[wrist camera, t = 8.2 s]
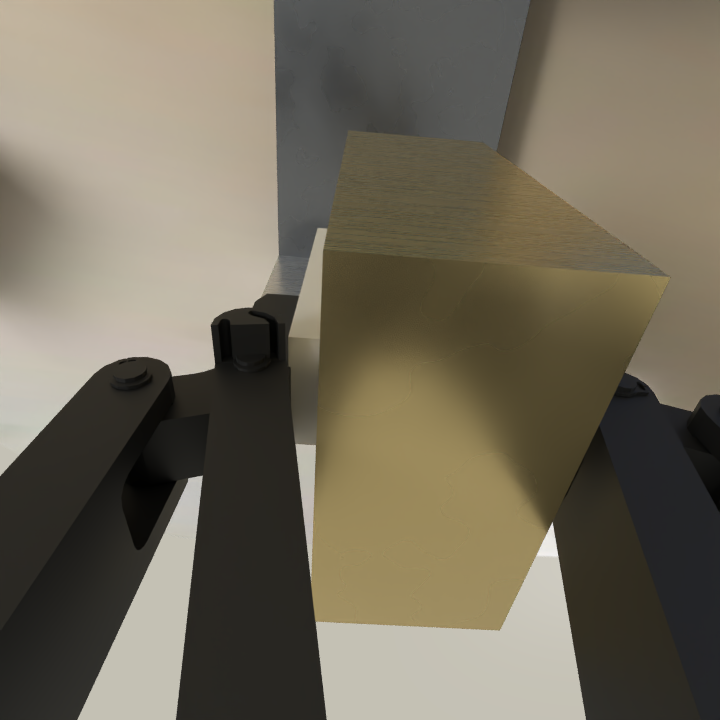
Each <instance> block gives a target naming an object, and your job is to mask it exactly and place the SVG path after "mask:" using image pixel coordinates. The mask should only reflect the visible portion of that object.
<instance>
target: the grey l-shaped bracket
mask: <svg viewBox="0 0 720 720" xmlns="http://www.w3.org/2000/svg"><path fill="white" fill-rule="evenodd" d="M529 5H530V0H274V32H275V82H276V132H277V182H278V232H279V256H278V259H277V261H276V264H275V266H274V268H273V271H272V273H271V276H270V278H269V280H268V283H267V285H266V288H265V290H264V292H263V295H262V297H263V296H264V295H266V294H267V293H268V294H282V295H295V296H299V295H300V292H301V288H302V284H303V280H304V277H305V273H306V269H307V266H308V262H309V258H310V255H311V251H312V247H313V243H314V240H315V236H316V232H317V229H318V228H326V229H328V224H329V219H330V215H331V210H332V205H333V201H334V196H335V191H336V186H337V182H338V177H339V172H340V168H341V163H342V158H343V154H344V149H345V144H346V139H347V135H348V130H350V131H361V132H372V133H384V134H395V135H406V136H418V137H429V138H441V139H452V140H463V141H475V142H483V143H485V144H486V145H487V146H489V147H490V148H492V149H493V150H494V151H496V152H497V147H498V143H499V138H500V134H501V130H502V125H503V121H504V116H505V112H506V107H507V103H508V98H509V94H510V89H511V85H512V81H513V76H514V72H515V67H516V63H517V58H518V54H519V49H520V45H521V40H522V36H523V32H524V27H525V23H526V18H527V14H528V9H529Z"/></svg>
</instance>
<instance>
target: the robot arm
mask: <svg viewBox="0 0 720 720" xmlns="http://www.w3.org/2000/svg"><path fill="white" fill-rule="evenodd" d="M326 233H327V229H326V228H318V229H317V232H316V236H315V240H314V243H313V247H312V251H311V255H310V258H309V262H308V266H307V269H306V273H305V277H304V280H303V284H302V288H301V292H300V295H299V296H295V295H282V294H268V293H267V294H266V295H264V296H263V297H261V298H260V299H258V300H257V301H256V302H255V303H254V306H253V308H241V309H234V310H231V311H228V312H224V313H222V314H221V315H219V316H218V317H216V318H215V319H214V321H213V322H212V324H211V331H212V340H213V348H214V357H215V368H214V369H211V370H208V371H205V372H201V373H196V374H189V375H181V376H173V377H172V374H171V371H170V369H169V366H168V365H167V364H165V363H164V362H162V361H161V360H158V359H153V358H149V357H132V358H128V359H126V358H125V359H122V360H118V361H116V362H113V363H111V364H109V365H106V366H104V367H103V368H101V369H100V370H99V371H97V372H96V373H95V374H94V375H93V376H92V377H91V378H90V379H89V380H88V381H87V382H86V383H85V385H84V386H83V387H82V388H81V389H80V390H79V391H78V392H77V393H76V394H75V395H74V397H73V398H72V399H71V400H70V401H69V402H68V403H67V404H66V405H65V406H64V407H63V408H62V410H61V411H60V412H59V413H58V414H57V415H56V416H55V417H54V418H53V419H52V420H51V422H50V423H49V424H48V425H47V426H46V427H45V428H44V429H43V430H42V431H41V432H40V433H39V435H38V436H37V437H36V438H35V439H34V440H33V441H32V442H31V443H30V444H29V445H28V447H27V448H26V449H25V450H24V451H23V452H22V453H21V454H20V455H19V456H18V457H17V458H16V460H15V461H14V462H13V463H12V464H11V465H10V466H9V467H8V468H7V469H6V470H5V472H4V473H3V474H2V475H1V476H0V720H77V719H78V717H79V715H80V712H81V711H82V708H83V706H84V704H85V702H86V700H87V698H88V696H89V693H90V691H91V689H92V687H93V685H94V683H95V680H96V678H97V676H98V674H99V672H100V670H101V667H102V665H103V663H104V661H105V659H106V657H107V655H108V652H109V650H110V648H111V646H112V643H113V642H114V640H115V637H116V635H117V633H118V631H119V629H120V627H121V624H122V622H123V620H124V618H125V616H126V614H127V611H128V609H129V607H130V605H131V603H132V601H133V599H134V596H135V594H136V592H137V590H138V588H139V586H140V583H141V581H142V579H143V577H144V575H145V573H146V571H147V568H148V566H149V564H150V562H151V560H152V558H153V556H154V553H155V551H156V549H157V547H158V545H159V543H160V540H161V538H162V536H163V534H164V532H165V530H166V528H167V525H168V523H169V521H170V519H171V517H172V515H173V512H174V510H175V508H176V506H177V504H178V502H179V500H180V497H181V495H182V493H183V491H184V489H185V487H186V484H187V482H188V478H192V477H197V476H202V475H203V479H202V488H201V497H200V506H199V516H198V525H197V534H196V543H195V552H194V561H193V570H192V579H191V588H190V597H189V607H188V616H187V625H186V634H185V643H184V653H183V661H182V670H181V679H180V689H179V698H178V707H177V716H176V720H327V719H326V710H325V702H324V693H323V684H322V675H321V666H320V658H319V649H318V640H317V631H316V622H315V613H314V605H313V596H312V587H311V578H310V570H309V561H308V552H307V543H306V534H305V525H304V517H303V508H302V499H301V490H300V481H299V472H298V464H297V455H296V446H295V444H307V445H316V435H317V406H318V378H319V349H320V320H321V292H322V263H323V248H324V243H325V238H326ZM553 526H554V532H555V538H556V544H557V550H558V556H559V562H560V568H561V573H562V579H563V585H564V591H565V597H566V603H567V609H568V615H569V621H570V627H571V632H572V639H573V645H574V650H575V656H576V662H577V668H578V674H579V680H580V686H581V692H582V698H583V704H584V710H585V716H586V720H720V395H706V396H705V397H703V398H702V399H701V400H700V401H699V403H698V404H697V406H696V408H695V409H694V411H693V412H691V411H687V410H683V409H679V408H675V407H671V406H667V405H663V404H660V403H659V401H658V399H657V398H656V396H655V394H654V392H653V391H652V390H651V389H650V388H649V387H648V385H646V384H645V383H644V382H642V381H640V380H639V379H638V378H636V377H633V376H631V375H629V374H627V373H624V375H623V377H622V379H621V381H620V383H619V385H618V387H617V389H616V391H615V393H614V395H613V398H612V400H611V402H610V404H609V406H608V408H607V410H606V412H605V414H604V416H603V418H602V420H601V422H600V424H599V426H598V429H597V431H596V433H595V435H594V437H593V439H592V441H591V443H590V445H589V447H588V449H587V451H586V453H585V455H584V458H583V460H582V462H581V464H580V466H579V468H578V470H577V472H576V474H575V476H574V478H573V480H572V482H571V484H570V486H569V489H568V491H567V493H566V495H565V497H564V499H563V501H562V503H561V505H560V507H559V509H558V511H557V513H556V515H555V517H554V520H553Z"/></svg>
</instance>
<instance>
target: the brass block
mask: <svg viewBox="0 0 720 720" xmlns="http://www.w3.org/2000/svg"><path fill="white" fill-rule="evenodd" d="M670 278H671V277H670V276H668V275H667V274H666V273H664V272H663V271H661V270H660V269H659V268H657V267H656V266H654V265H653V264H652V263H650V262H649V261H648V260H646V259H645V258H643V257H642V256H641V255H639V254H638V253H636V252H635V251H634V250H632V249H631V248H629V247H628V246H627V245H625V244H624V243H622V242H621V241H620V240H618V239H617V238H616V237H614V236H613V235H611V234H610V233H609V232H607V231H606V230H604V229H603V228H602V227H600V226H599V225H597V224H596V223H595V222H593V221H592V220H590V219H589V218H588V217H586V216H585V215H584V214H582V213H581V212H579V211H578V210H577V209H575V208H574V207H572V206H571V205H570V204H568V203H567V202H565V201H564V200H563V199H561V198H560V197H558V196H557V195H556V194H554V193H553V192H552V191H550V190H549V189H547V188H546V187H545V186H543V185H542V184H540V183H539V182H538V181H536V180H535V179H533V178H532V177H531V176H529V175H528V174H526V173H525V172H524V171H522V170H521V169H519V168H518V167H517V166H515V165H514V164H513V163H511V162H510V161H508V160H507V159H506V158H504V157H503V156H501V155H500V154H499V153H497V152H496V151H494V150H493V149H492V148H490V147H489V146H487V145H486V144H485V143H483V142H475V141H463V140H452V139H441V138H429V137H418V136H406V135H395V134H384V133H372V132H361V131H350V130H348V135H347V139H346V144H345V149H344V154H343V158H342V163H341V168H340V172H339V177H338V182H337V186H336V191H335V196H334V201H333V205H332V210H331V215H330V219H329V224H328V229H327V233H326V238H325V243H324V248H323V263H322V292H321V320H320V349H319V378H318V406H317V435H316V463H315V492H314V520H313V549H312V579H311V587H312V596H313V605H314V613H315V621H316V622H336V623H357V624H378V625H379V624H380V625H399V626H421V627H440V628H462V629H481V630H500V629H501V627H502V625H503V623H504V621H505V619H506V617H507V614H508V613H509V610H510V608H511V606H512V604H513V602H514V600H515V598H516V596H517V594H518V592H519V590H520V588H521V586H522V583H523V582H524V579H525V577H526V575H527V573H528V571H529V569H530V567H531V565H532V563H533V561H534V559H535V557H536V555H537V553H538V551H539V548H540V546H541V544H542V542H543V540H544V538H545V536H546V534H547V532H548V530H549V528H550V526H551V524H552V522H553V520H554V517H555V515H556V513H557V511H558V509H559V507H560V505H561V503H562V501H563V499H564V497H565V495H566V493H567V491H568V489H569V486H570V484H571V482H572V480H573V478H574V476H575V474H576V472H577V470H578V468H579V466H580V464H581V462H582V460H583V458H584V455H585V453H586V451H587V449H588V447H589V445H590V443H591V441H592V439H593V437H594V435H595V433H596V431H597V429H598V426H599V424H600V422H601V420H602V418H603V416H604V414H605V412H606V410H607V408H608V406H609V404H610V402H611V400H612V398H613V395H614V393H615V391H616V389H617V387H618V385H619V383H620V381H621V379H622V377H623V375H624V373H625V371H626V369H627V367H628V364H629V362H630V360H631V358H632V356H633V354H634V352H635V350H636V348H637V346H638V344H639V342H640V340H641V338H642V336H643V333H644V331H645V329H646V327H647V325H648V323H649V321H650V319H651V317H652V315H653V313H654V311H655V309H656V307H657V305H658V302H659V300H660V298H661V296H662V294H663V292H664V290H665V288H666V286H667V284H668V282H669V280H670Z"/></svg>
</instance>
